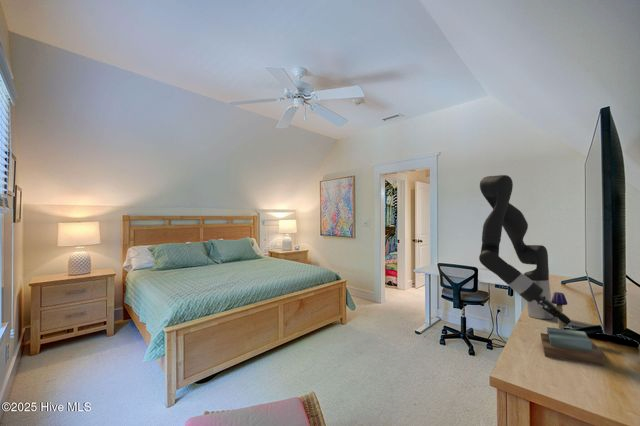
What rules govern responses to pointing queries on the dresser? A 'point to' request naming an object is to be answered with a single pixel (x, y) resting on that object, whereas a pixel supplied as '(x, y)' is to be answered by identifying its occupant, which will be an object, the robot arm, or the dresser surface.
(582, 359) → the brick stand
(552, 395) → the dresser surface
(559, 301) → the toy lamp
